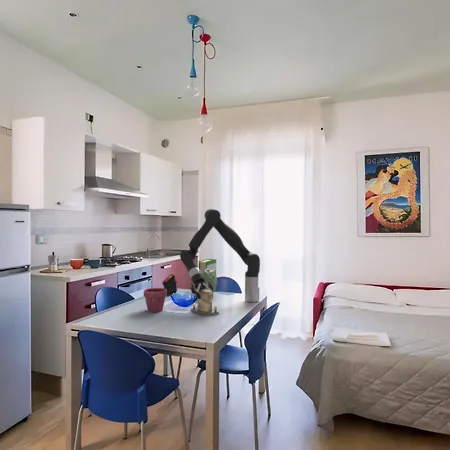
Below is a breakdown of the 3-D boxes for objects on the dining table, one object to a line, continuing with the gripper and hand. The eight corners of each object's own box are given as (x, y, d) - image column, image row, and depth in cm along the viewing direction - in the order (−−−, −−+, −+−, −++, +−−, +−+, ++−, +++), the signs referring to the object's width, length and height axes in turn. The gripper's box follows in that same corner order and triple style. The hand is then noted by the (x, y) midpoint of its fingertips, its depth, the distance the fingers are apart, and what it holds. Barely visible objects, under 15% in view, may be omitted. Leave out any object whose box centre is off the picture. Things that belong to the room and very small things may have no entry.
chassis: (204, 308, 229) (204, 301, 229) (219, 314, 216) (219, 306, 216) (190, 310, 223) (190, 303, 223) (204, 316, 210) (205, 308, 210)
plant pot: (149, 307, 232) (149, 287, 232) (170, 308, 229) (170, 288, 229) (139, 312, 218) (139, 291, 218) (161, 314, 215) (161, 292, 215)
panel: (203, 307, 225) (203, 288, 225) (212, 311, 217) (212, 291, 217) (197, 308, 223) (197, 289, 222) (206, 312, 214) (206, 291, 214)
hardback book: (206, 292, 282) (207, 261, 282) (198, 291, 285) (198, 260, 285) (216, 288, 299) (216, 259, 298) (207, 287, 302) (208, 258, 301)
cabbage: (190, 297, 261) (190, 270, 261) (202, 293, 278) (203, 267, 278) (209, 299, 255) (209, 271, 254) (221, 295, 272) (221, 268, 271)
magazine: (179, 290, 277) (174, 274, 272) (169, 301, 267) (164, 284, 261) (176, 290, 279) (170, 273, 274) (165, 300, 269) (160, 283, 263)
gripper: (188, 273, 221) (198, 295, 212) (208, 271, 229) (218, 292, 220) (184, 280, 225) (193, 302, 216) (203, 279, 234) (213, 299, 225)
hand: (206, 297), depth 218 cm, fingers open, 8 cm apart
